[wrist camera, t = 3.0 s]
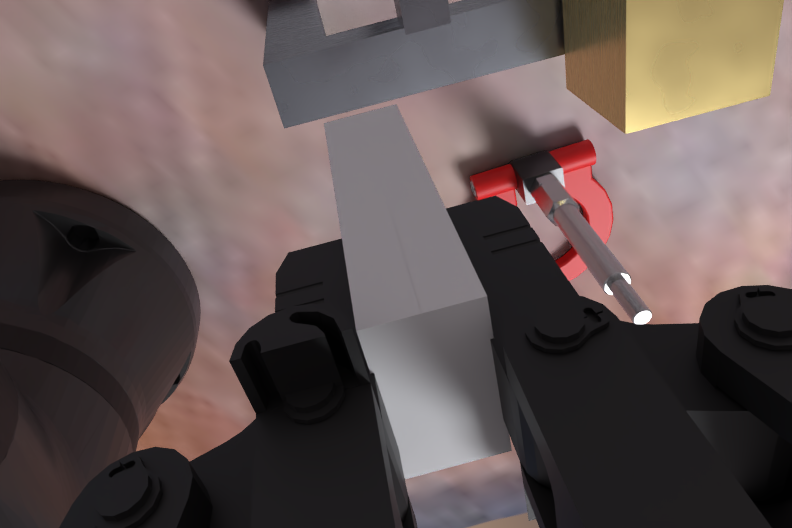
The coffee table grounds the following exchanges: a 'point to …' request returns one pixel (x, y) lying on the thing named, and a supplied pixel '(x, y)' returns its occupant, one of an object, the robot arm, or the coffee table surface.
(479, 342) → the robot arm
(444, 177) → the coffee table surface
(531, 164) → the tow hook
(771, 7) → the slider block
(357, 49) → the dividers beam
